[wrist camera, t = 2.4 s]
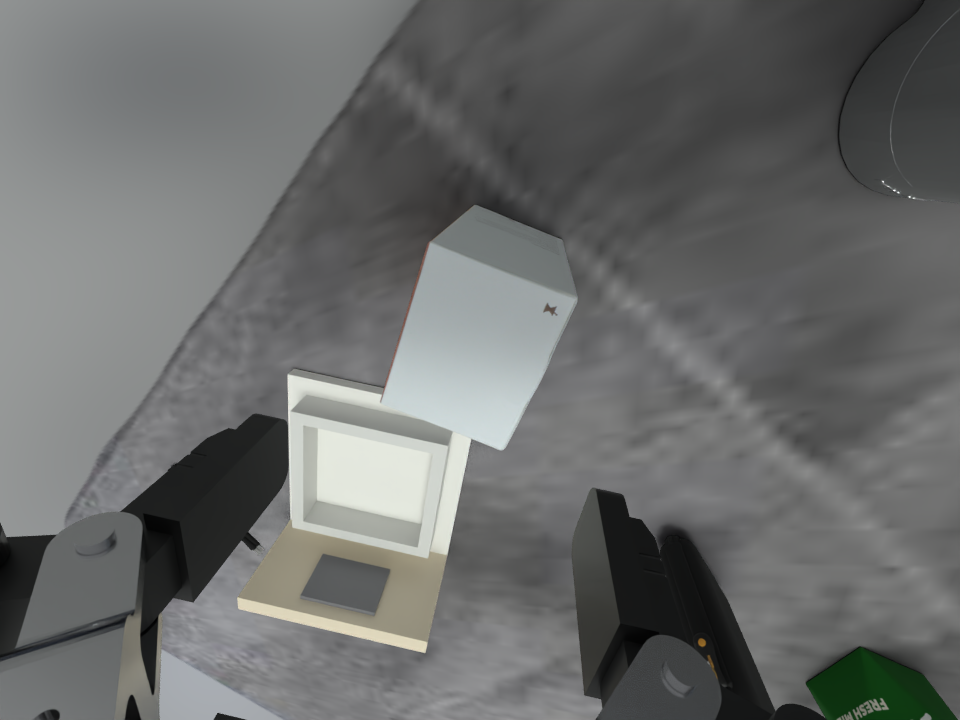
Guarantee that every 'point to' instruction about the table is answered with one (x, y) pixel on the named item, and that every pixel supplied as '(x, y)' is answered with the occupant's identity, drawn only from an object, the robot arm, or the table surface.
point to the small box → (481, 326)
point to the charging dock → (361, 516)
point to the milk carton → (876, 691)
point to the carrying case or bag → (711, 622)
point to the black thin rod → (248, 539)
